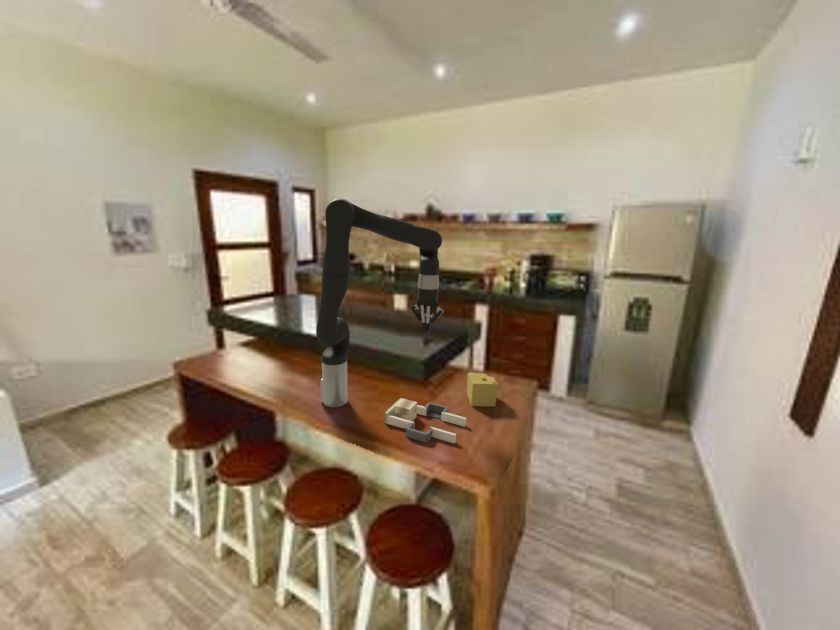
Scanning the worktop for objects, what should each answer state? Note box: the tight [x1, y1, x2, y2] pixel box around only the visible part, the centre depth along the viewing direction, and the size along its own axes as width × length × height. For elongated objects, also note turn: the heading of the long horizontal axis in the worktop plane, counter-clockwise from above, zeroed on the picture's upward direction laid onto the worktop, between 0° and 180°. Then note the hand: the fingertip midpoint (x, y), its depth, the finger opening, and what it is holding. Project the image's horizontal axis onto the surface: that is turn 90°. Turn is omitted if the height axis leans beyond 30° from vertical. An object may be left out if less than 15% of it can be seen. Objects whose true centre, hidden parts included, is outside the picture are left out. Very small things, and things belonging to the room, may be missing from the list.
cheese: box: [466, 372, 499, 408], centre depth 146 cm, size 10×11×10 cm
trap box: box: [384, 397, 467, 444], centre depth 129 cm, size 26×20×4 cm
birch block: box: [394, 397, 418, 422], centre depth 132 cm, size 6×6×6 cm
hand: (426, 332), depth 137 cm, fingers closed
